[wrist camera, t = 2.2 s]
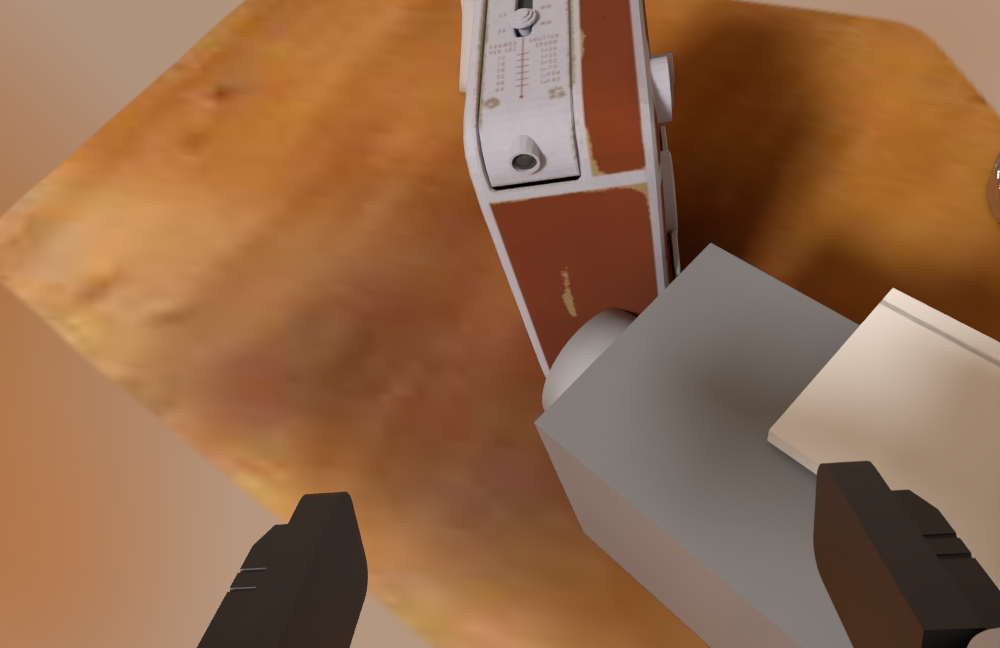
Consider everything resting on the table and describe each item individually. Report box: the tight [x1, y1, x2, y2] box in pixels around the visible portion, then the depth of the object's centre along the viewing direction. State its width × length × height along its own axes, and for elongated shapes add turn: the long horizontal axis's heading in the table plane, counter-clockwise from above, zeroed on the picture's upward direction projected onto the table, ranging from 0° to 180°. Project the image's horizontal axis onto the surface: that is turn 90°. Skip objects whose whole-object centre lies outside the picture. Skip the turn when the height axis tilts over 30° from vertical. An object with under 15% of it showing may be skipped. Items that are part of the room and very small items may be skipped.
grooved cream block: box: [767, 288, 1000, 590], centre depth 23 cm, size 9×7×23 cm
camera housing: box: [534, 243, 860, 648], centre depth 30 cm, size 20×10×13 cm, turn 44°
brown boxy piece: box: [463, 0, 680, 379], centre depth 38 cm, size 9×19×20 cm, turn 178°
